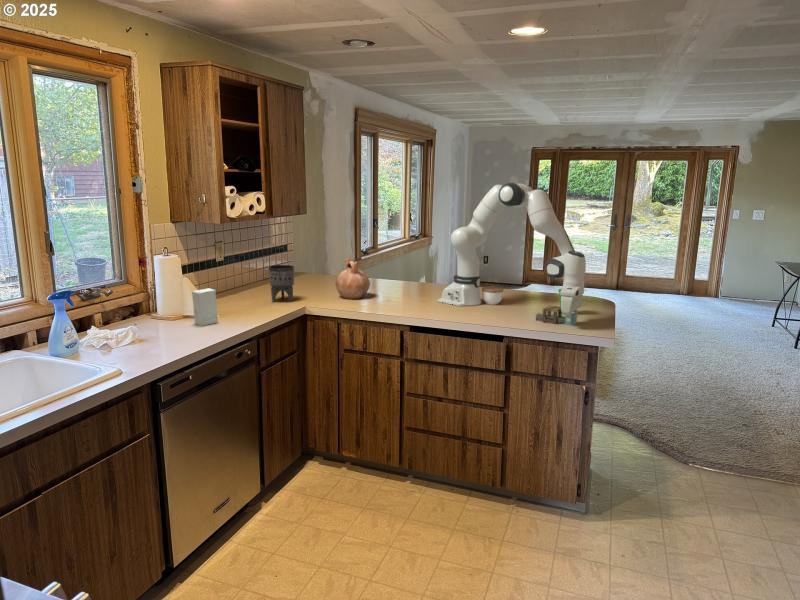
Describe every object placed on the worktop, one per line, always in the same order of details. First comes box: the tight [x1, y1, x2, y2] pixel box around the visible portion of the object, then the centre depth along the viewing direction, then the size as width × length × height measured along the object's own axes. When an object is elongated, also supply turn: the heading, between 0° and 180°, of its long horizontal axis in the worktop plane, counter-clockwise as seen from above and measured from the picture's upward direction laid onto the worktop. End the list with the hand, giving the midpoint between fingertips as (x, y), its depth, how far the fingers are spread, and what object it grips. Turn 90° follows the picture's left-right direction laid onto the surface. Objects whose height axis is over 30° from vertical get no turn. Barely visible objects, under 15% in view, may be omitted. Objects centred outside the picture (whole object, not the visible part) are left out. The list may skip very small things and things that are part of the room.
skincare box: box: [191, 287, 219, 327], centre depth 244 cm, size 8×6×15 cm
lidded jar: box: [481, 285, 504, 306], centre depth 287 cm, size 11×11×9 cm
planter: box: [267, 264, 295, 304], centre depth 289 cm, size 13×13×18 cm
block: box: [564, 312, 578, 326], centre depth 248 cm, size 4×4×4 cm
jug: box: [335, 258, 371, 300], centre depth 299 cm, size 18×18×20 cm
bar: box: [535, 312, 566, 325], centre depth 252 cm, size 13×3×3 cm, turn 60°
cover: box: [541, 304, 563, 325], centre depth 252 cm, size 6×8×6 cm
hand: (571, 320), depth 248 cm, fingers closed on block, 4 cm apart
